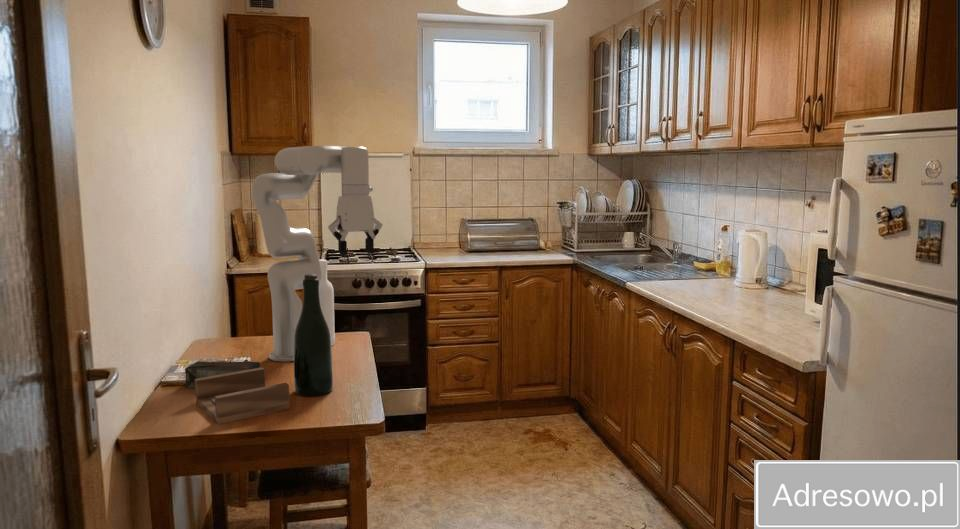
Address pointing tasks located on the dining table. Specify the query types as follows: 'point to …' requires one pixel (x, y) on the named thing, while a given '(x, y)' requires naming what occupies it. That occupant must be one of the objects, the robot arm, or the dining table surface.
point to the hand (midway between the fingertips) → (356, 253)
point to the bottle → (327, 300)
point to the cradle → (240, 395)
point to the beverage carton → (215, 369)
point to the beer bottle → (312, 345)
